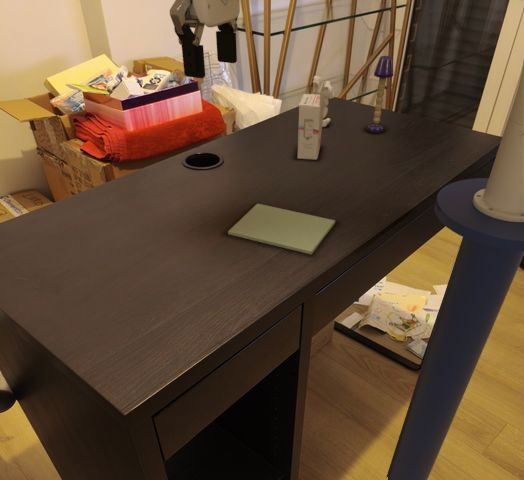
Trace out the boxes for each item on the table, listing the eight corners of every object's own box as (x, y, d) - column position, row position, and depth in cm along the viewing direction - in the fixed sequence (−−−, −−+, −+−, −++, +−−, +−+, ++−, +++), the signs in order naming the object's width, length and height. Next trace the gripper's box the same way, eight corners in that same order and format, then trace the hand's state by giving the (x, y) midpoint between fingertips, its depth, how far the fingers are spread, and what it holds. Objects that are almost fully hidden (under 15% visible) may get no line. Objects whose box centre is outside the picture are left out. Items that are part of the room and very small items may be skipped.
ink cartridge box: (300, 145, 117) (304, 78, 107) (320, 146, 116) (326, 79, 106) (296, 159, 111) (299, 88, 101) (317, 160, 110) (322, 90, 100)
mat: (335, 223, 88) (335, 220, 88) (311, 254, 80) (311, 251, 80) (257, 206, 93) (257, 203, 93) (228, 234, 85) (227, 231, 85)
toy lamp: (363, 127, 126) (373, 55, 115) (379, 126, 127) (391, 54, 115) (370, 134, 123) (381, 59, 111) (387, 132, 123) (399, 58, 112)
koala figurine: (319, 132, 123) (323, 80, 115) (297, 127, 127) (300, 76, 118) (336, 123, 128) (341, 73, 120) (315, 118, 131) (319, 69, 123)
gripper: (191, -83, 53) (204, 86, 65) (258, -85, 65) (258, 59, 77) (136, -83, 56) (158, 80, 67) (210, -85, 67) (218, 55, 79)
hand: (211, 69), depth 72 cm, fingers open, 9 cm apart
